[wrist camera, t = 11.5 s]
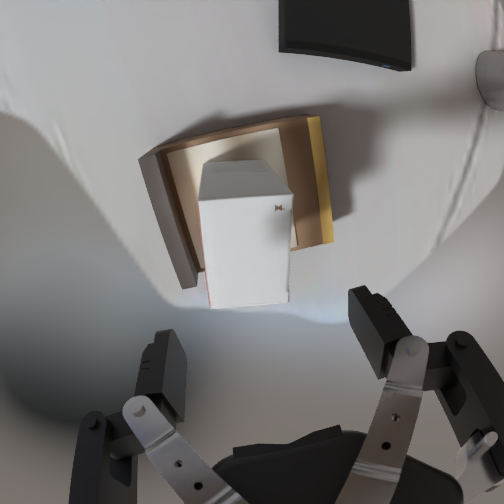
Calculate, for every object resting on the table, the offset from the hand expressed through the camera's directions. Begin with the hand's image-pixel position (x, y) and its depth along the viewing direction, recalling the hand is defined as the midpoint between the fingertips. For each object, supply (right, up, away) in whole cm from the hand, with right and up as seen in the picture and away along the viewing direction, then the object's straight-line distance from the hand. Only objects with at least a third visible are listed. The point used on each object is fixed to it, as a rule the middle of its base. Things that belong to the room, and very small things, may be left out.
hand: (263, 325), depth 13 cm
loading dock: (-1, +10, +18) cm, 21 cm away
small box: (-2, +8, +15) cm, 17 cm away
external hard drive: (+9, +34, +8) cm, 36 cm away
